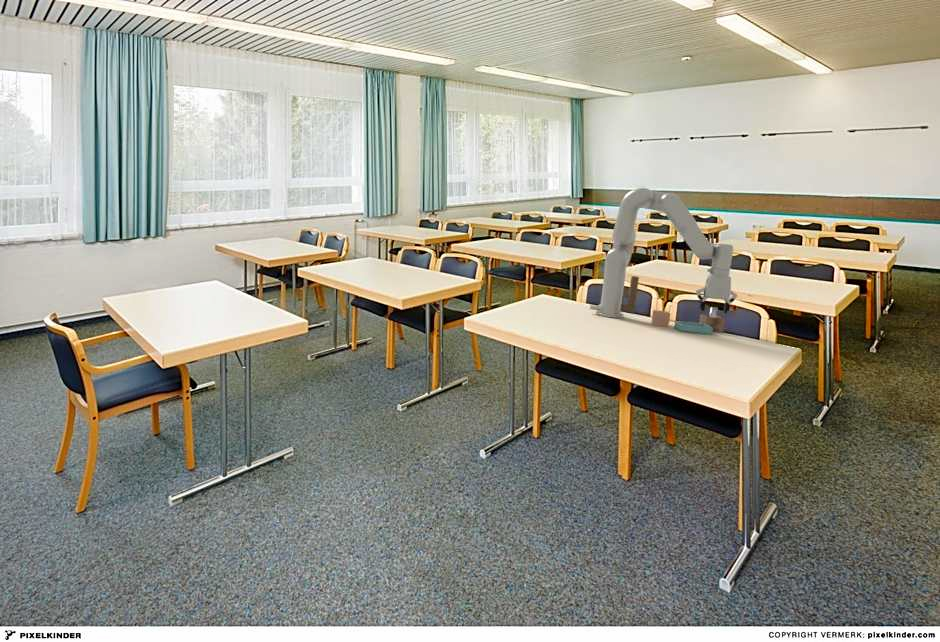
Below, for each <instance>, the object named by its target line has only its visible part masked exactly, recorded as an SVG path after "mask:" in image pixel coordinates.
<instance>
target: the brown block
mask: <svg viewBox="0 0 940 642" xmlns="http://www.w3.org/2000/svg"><path fill="white" fill-rule="evenodd" d="M709 315H710V314H700V316H699V317H700V318H699V322H698V323H702V324H707V325H709V326H710V327H712V328H713V331H715V332H714V333H720V334H721V333H724V329H725V322H726V318H723V317H722V316H720V315H717V318H712V317H709Z"/></svg>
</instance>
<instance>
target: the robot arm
mask: <svg viewBox="0 0 940 642" xmlns="http://www.w3.org/2000/svg"><path fill="white" fill-rule="evenodd" d="M640 209H645V210H652V211H657V212H661V213H664V214H665V215H666V217H667V218H668V220H669V221H670V222H671V224H672V225H673V227H674V229H676V231H677V232H678V234H679V235H680V236H681V237H682V239H683V240H684V241H685V242H686V244H687V246H688V247H689V249H690V250H691V251H692V253H693V254H694V255H695V257H696V258H697V259H700V260H709V259H710V260H712V262H711V267H710V268H707V270H706V271H707V273H709V274H708V276H707V279H706V281H705V283H704V285H705V286H704V287H702V288H700V289H697V290H695V293H696V296H697V298H698V299H699V301H700V304H699V309H700V311H702V312H704V311H705V310H706V301H707V300H708V299H713V300H724V302H725V303H723V310H722V312H723V313H724V314H727V313H728V312H729V309H730V305H731V304H732V303H733V302H735V300H736V298H737V297H738V294H737V293H736V292H734V291H732V277H731V276H730V272H731V266H732V260H733V253H734V246H733V245H732V244H728V243H715V242H714V243H713V242H710V241H709V240H708V239H707V237H706V236H705V235H704V233H703V231H702V230H701V229H700V226H699V225H698V223H697V221H696V219H695V217H694V216H693V215H692V213H691V212H690V210H689V209H688V208H687V207H686V205H685V204H684V202H683V201H682V200H681V198H680V197H679V195H678V194H676V193H675V192H661V191H655V190H651V189H649V188H646V187H638V188H635V189H632V190H631V191H629V192H628V193H626V194H625V196H624V197H623V198H622V200H621V202H620V205H619V208H618V213H617V216H616V219H615V224H614V227H613V231H612V239H613V243H612V248H611V249H610V250H609V251H608V252H607V253H606V256H605V259H604V273H603V274H604V275H603V279H602V280H603V282H602V289H601V298H600V303H599V304H598V305H591V304H590V305H589V310H592V311H594V310H595V311H596V312H595V315H597V316H600V317H607V318H615V319H616V318H617V319H618V318H624V316H625V315H624V314H623V313H621V312H622V311H621V305H622V297H623V290H624V289H625V280H626V274H627V273H626V271H627V266H628V264H629V263H630V261H631V259H632V255H633V250H634V246H635V241H636V239H637V238H636V237H637V234H636V230H635V225H636V220H637V218H638V217H637V216H638V214H639V213H638V212H639V210H640ZM701 293H703V295H701ZM730 297H731V298H730Z"/></svg>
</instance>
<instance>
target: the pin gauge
mask: <svg viewBox="0 0 940 642" xmlns="http://www.w3.org/2000/svg"><path fill="white" fill-rule="evenodd" d="M718 309H719V308H718V307H713V306H711V307H709V314H708V315H709V317H712V318H717V316H718Z"/></svg>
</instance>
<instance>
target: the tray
mask: <svg viewBox="0 0 940 642" xmlns="http://www.w3.org/2000/svg"><path fill="white" fill-rule="evenodd" d="M674 327H675V328H674ZM673 328H674V329H675V330H677V331H678V332H679V333H686V334H687V333H688V334H699V335H707V334H712V335H713V332H712V331H713V328H712V327H710V326H709V325H707V324H702V323H699V322H691V321H680V320H679V321H678V320H675V321H674V326H673Z"/></svg>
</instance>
